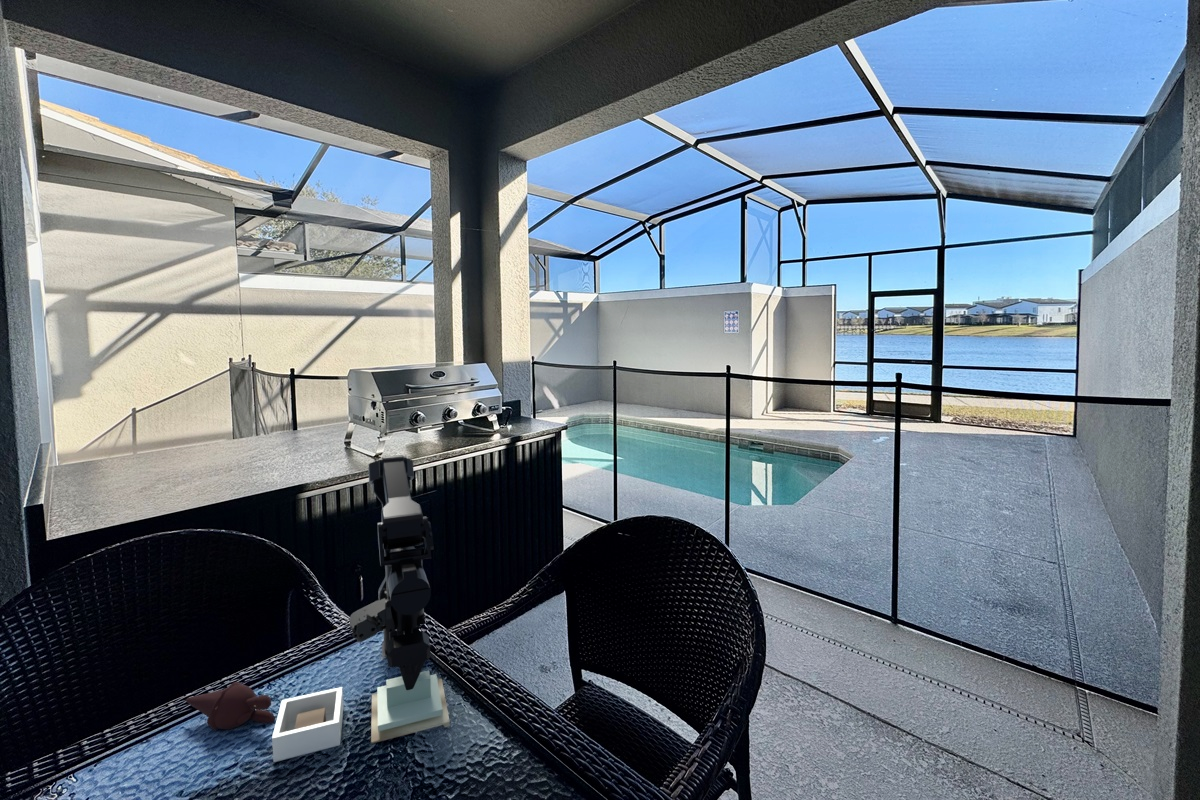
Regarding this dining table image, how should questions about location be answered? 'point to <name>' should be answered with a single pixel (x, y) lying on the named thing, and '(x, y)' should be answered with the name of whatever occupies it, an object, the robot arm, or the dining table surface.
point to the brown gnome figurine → (233, 706)
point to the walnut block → (310, 718)
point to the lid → (408, 701)
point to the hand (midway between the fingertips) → (408, 672)
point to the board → (411, 727)
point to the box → (311, 737)
